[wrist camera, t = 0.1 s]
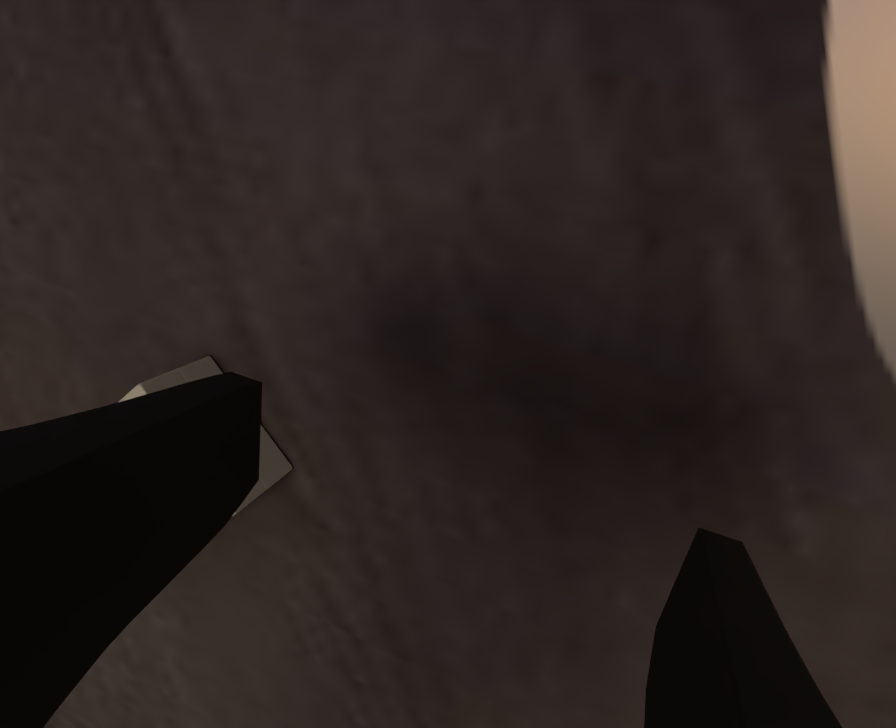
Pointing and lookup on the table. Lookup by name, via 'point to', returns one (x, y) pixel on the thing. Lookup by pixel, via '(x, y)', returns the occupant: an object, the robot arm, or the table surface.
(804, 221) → the table surface
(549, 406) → the table surface
